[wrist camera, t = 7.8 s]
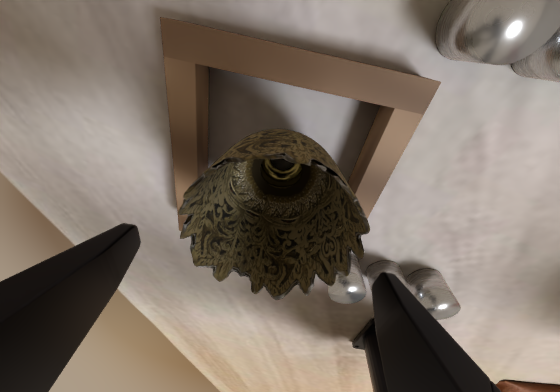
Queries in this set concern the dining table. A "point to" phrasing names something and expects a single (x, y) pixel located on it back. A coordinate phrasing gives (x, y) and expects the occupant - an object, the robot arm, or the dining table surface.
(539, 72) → the spacer posts
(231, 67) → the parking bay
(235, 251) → the ornate brass lampshade
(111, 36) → the dining table surface
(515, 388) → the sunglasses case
